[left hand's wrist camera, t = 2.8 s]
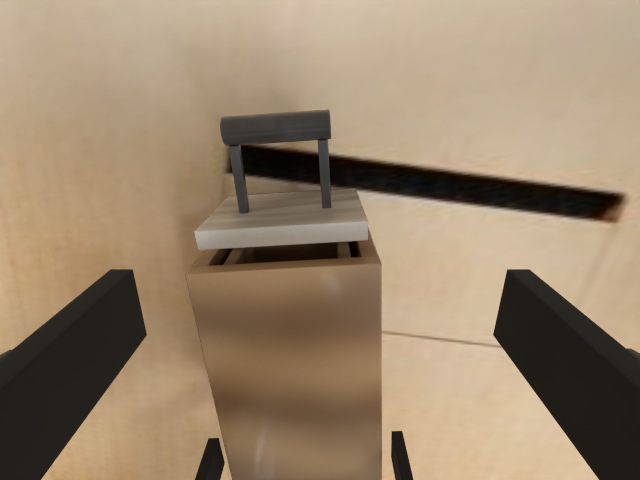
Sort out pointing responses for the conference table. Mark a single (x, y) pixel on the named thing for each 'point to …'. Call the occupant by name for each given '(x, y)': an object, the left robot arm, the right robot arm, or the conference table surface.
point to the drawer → (282, 200)
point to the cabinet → (294, 363)
